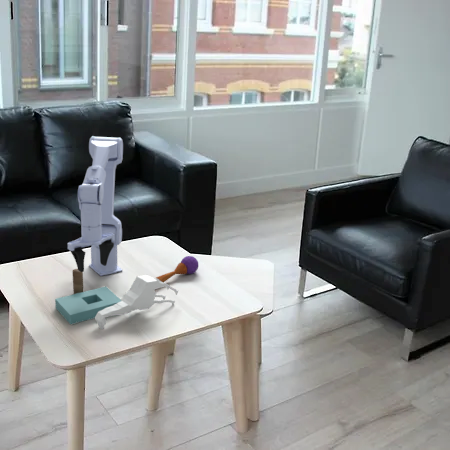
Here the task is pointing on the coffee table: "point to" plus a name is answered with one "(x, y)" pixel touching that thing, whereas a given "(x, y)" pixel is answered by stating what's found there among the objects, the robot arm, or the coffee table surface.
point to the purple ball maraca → (182, 268)
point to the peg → (77, 281)
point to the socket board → (85, 304)
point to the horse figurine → (135, 298)
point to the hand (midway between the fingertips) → (92, 267)
